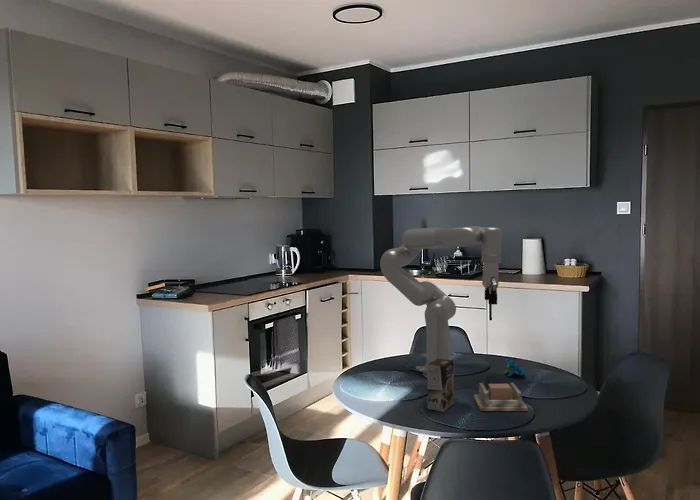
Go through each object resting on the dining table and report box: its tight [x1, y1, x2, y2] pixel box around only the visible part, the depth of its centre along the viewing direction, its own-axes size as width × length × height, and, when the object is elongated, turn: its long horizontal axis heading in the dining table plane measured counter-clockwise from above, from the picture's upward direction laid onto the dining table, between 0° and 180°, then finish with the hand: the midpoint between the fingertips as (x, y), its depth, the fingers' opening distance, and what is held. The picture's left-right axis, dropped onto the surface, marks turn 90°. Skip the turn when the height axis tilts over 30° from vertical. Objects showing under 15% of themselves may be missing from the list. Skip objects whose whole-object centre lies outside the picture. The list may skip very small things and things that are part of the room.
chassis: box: [473, 382, 529, 412], centre depth 202 cm, size 16×14×6 cm
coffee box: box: [427, 359, 454, 413], centre depth 200 cm, size 9×6×16 cm
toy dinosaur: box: [504, 358, 528, 377], centre depth 234 cm, size 11×6×10 cm
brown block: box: [487, 383, 511, 400], centre depth 202 cm, size 7×5×6 cm
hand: (490, 302), depth 223 cm, fingers open, 9 cm apart
